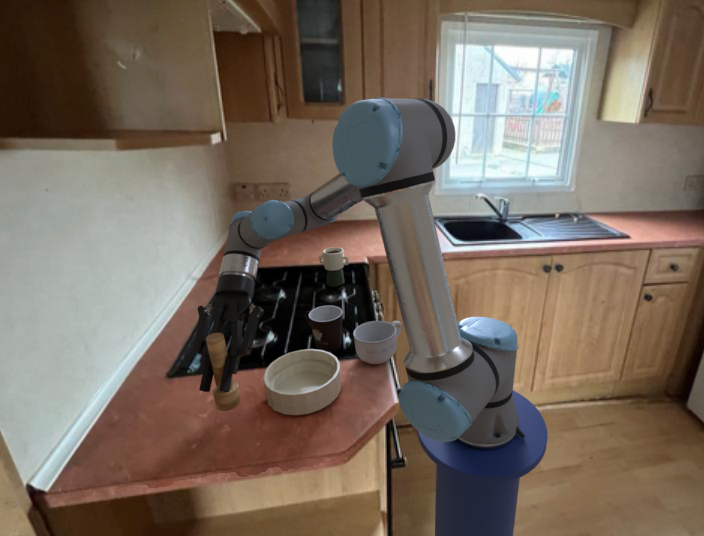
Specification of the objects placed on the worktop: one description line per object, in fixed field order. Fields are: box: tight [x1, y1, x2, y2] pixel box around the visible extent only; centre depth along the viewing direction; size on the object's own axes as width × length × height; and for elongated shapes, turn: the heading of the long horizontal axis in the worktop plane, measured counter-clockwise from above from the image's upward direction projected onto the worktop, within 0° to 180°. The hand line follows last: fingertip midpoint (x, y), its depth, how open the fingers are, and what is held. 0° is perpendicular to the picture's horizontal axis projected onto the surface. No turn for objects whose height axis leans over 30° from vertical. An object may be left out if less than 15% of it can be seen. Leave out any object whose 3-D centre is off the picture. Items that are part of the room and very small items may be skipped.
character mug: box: [318, 246, 349, 288], centre depth 144 cm, size 11×7×13 cm, turn 77°
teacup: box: [352, 320, 403, 365], centre depth 104 cm, size 14×11×8 cm
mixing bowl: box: [262, 348, 342, 416], centre depth 91 cm, size 16×16×6 cm
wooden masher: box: [206, 332, 242, 412], centre depth 83 cm, size 5×5×16 cm
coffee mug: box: [304, 305, 343, 354], centre depth 109 cm, size 12×9×10 cm
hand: (214, 391), depth 80 cm, fingers closed on wooden masher, 3 cm apart
